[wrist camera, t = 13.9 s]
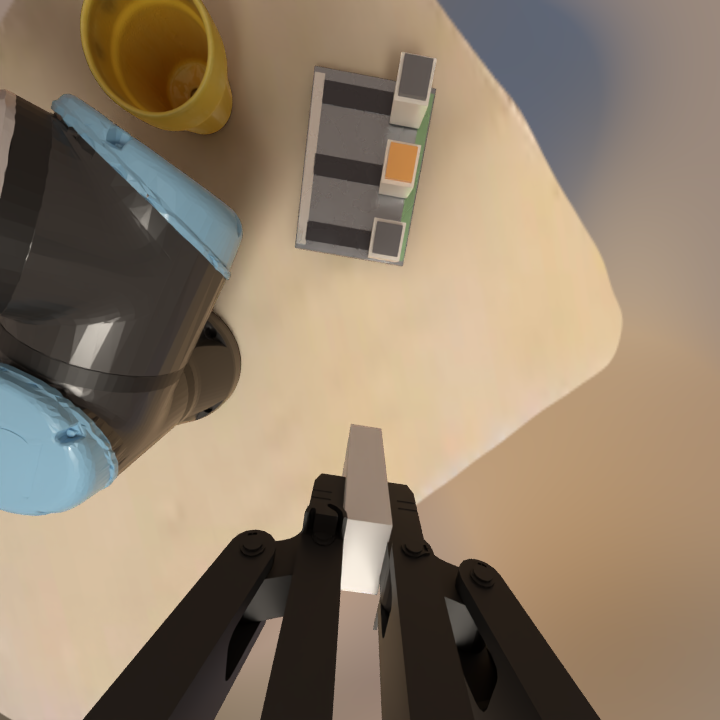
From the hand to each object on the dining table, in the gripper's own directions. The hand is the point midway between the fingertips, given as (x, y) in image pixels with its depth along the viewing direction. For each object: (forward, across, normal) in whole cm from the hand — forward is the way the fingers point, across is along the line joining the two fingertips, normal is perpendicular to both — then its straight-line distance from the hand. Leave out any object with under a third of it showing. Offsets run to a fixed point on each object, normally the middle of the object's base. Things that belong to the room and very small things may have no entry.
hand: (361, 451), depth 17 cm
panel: (+26, -3, +18) cm, 32 cm away
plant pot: (+27, -21, +23) cm, 41 cm away
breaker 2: (+24, +1, +18) cm, 30 cm away
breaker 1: (+24, +1, +25) cm, 34 cm away
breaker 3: (+24, +1, +12) cm, 27 cm away
